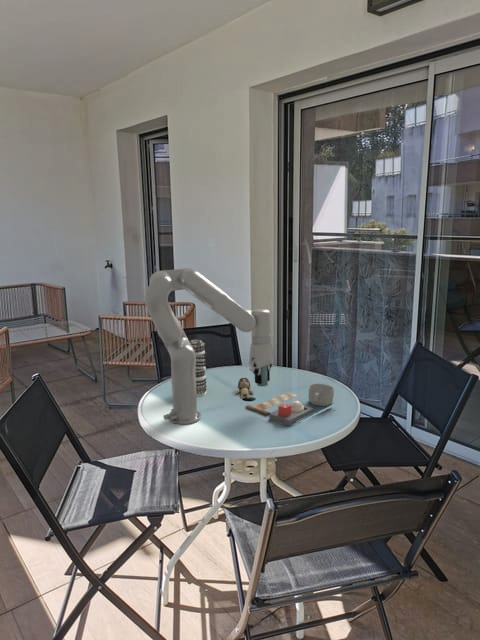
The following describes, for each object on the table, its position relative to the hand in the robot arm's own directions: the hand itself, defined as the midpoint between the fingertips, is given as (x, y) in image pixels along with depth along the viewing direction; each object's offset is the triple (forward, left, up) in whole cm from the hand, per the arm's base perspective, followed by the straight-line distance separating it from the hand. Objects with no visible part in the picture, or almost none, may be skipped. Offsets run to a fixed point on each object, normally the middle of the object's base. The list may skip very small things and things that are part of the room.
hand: (262, 381), depth 199 cm
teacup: (+19, -16, -13) cm, 28 cm away
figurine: (+7, +17, -13) cm, 23 cm away
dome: (+5, -14, -12) cm, 19 cm away
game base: (+2, -14, -12) cm, 19 cm away
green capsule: (0, 0, -1) cm, 1 cm away
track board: (+9, 0, -12) cm, 15 cm away
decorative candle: (-6, +35, -13) cm, 38 cm away
